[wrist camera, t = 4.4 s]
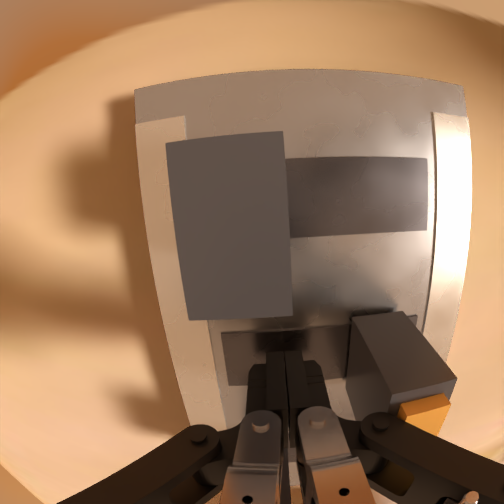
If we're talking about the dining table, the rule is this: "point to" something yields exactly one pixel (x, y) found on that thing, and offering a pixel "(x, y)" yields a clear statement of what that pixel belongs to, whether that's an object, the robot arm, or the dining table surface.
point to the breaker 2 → (285, 481)
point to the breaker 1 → (232, 225)
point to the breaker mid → (397, 372)
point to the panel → (318, 218)
